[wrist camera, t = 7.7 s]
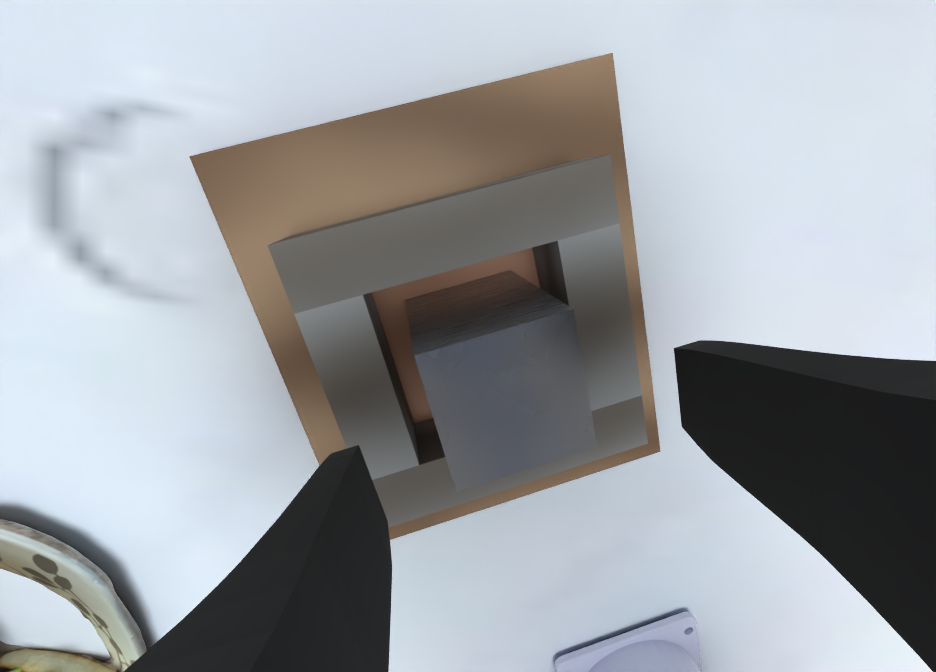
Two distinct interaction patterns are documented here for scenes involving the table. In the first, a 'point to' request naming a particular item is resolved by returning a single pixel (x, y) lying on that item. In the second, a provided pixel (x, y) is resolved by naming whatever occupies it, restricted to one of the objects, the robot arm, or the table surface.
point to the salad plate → (83, 585)
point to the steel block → (501, 376)
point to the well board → (404, 173)
